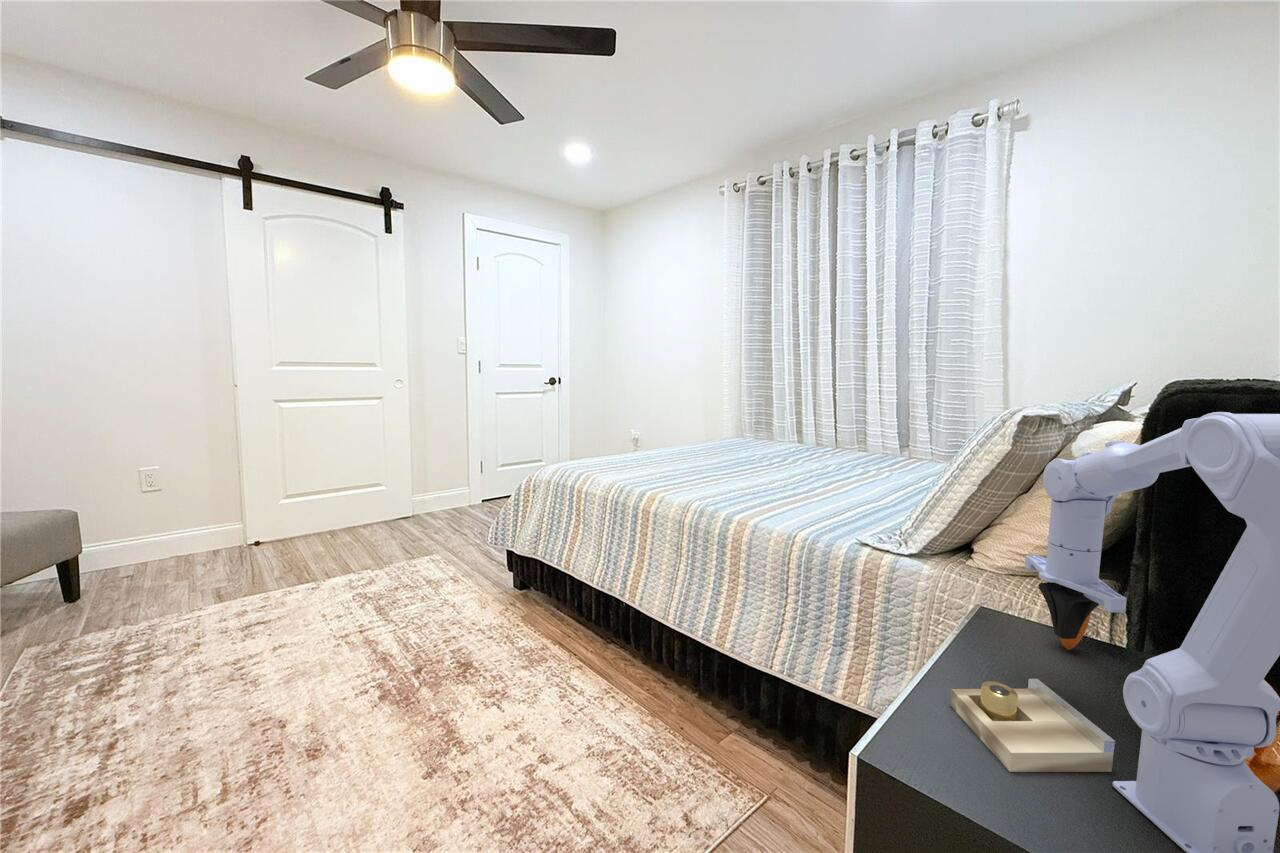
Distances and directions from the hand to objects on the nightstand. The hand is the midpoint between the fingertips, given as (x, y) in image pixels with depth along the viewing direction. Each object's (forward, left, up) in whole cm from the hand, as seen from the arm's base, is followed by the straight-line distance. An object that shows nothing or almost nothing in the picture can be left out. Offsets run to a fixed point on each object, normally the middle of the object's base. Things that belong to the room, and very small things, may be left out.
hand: (1065, 636), depth 73 cm
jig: (-8, +11, -10) cm, 16 cm away
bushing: (-6, +13, -10) cm, 17 cm away
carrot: (+12, -11, -10) cm, 19 cm away
